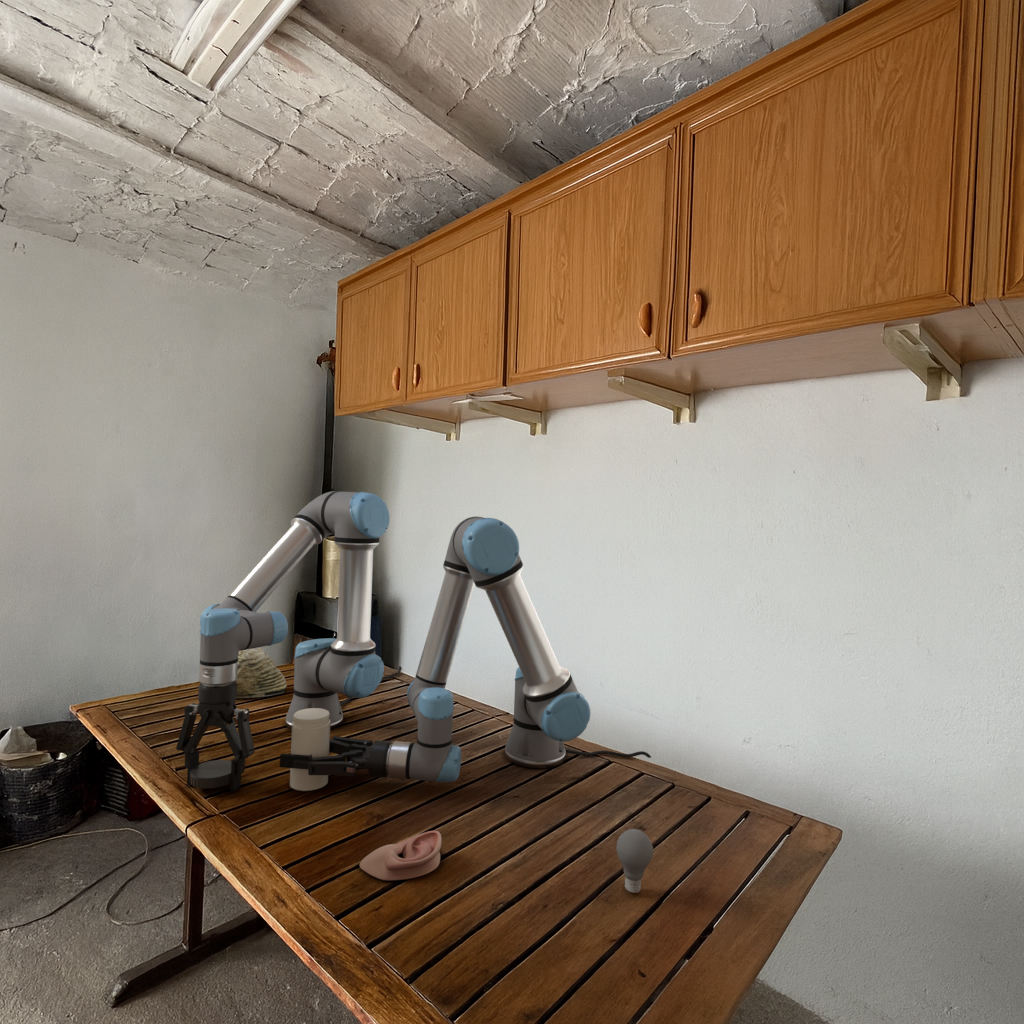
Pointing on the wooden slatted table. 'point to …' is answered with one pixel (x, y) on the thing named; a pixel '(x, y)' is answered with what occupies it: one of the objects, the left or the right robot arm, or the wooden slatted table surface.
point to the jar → (309, 745)
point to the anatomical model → (405, 858)
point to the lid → (211, 774)
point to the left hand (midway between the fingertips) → (213, 785)
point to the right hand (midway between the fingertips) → (289, 752)
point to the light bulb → (634, 857)
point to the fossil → (258, 675)
